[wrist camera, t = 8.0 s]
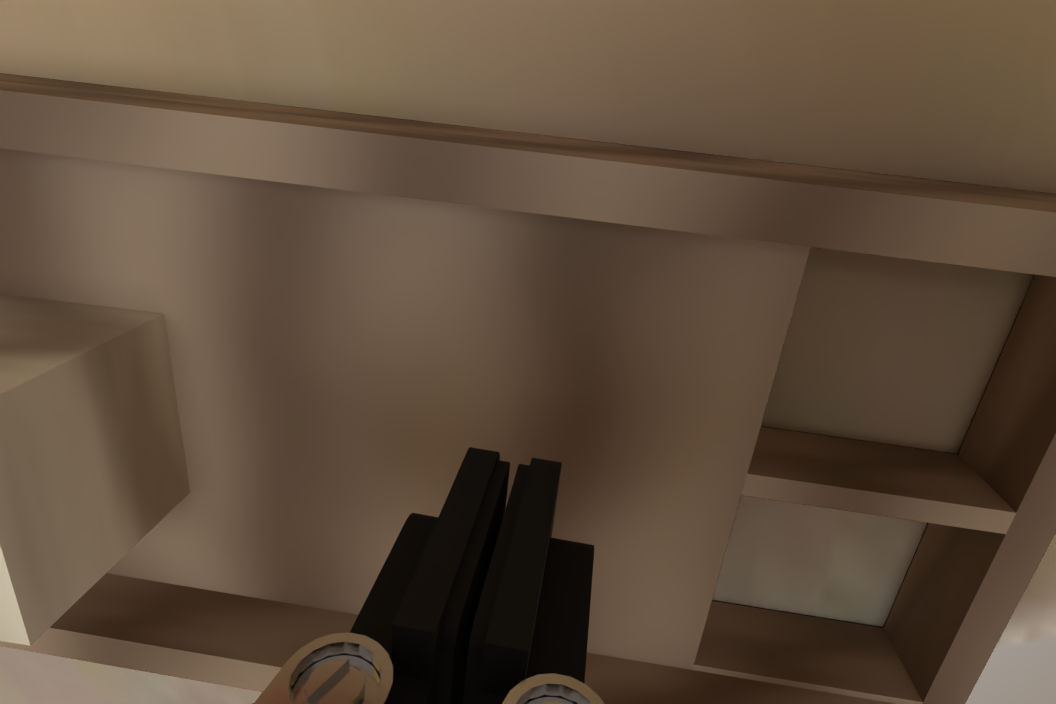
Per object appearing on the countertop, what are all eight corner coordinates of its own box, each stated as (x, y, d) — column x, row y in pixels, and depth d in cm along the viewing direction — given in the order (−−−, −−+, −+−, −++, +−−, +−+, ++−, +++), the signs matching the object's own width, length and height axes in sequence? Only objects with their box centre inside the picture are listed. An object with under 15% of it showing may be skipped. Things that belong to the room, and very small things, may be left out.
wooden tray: (1116, 200, 14) (1417, 261, 9) (904, 662, 19) (1013, 865, 14) (-68, 65, 15) (-394, 49, 10) (44, 523, 21) (-135, 660, 16)
